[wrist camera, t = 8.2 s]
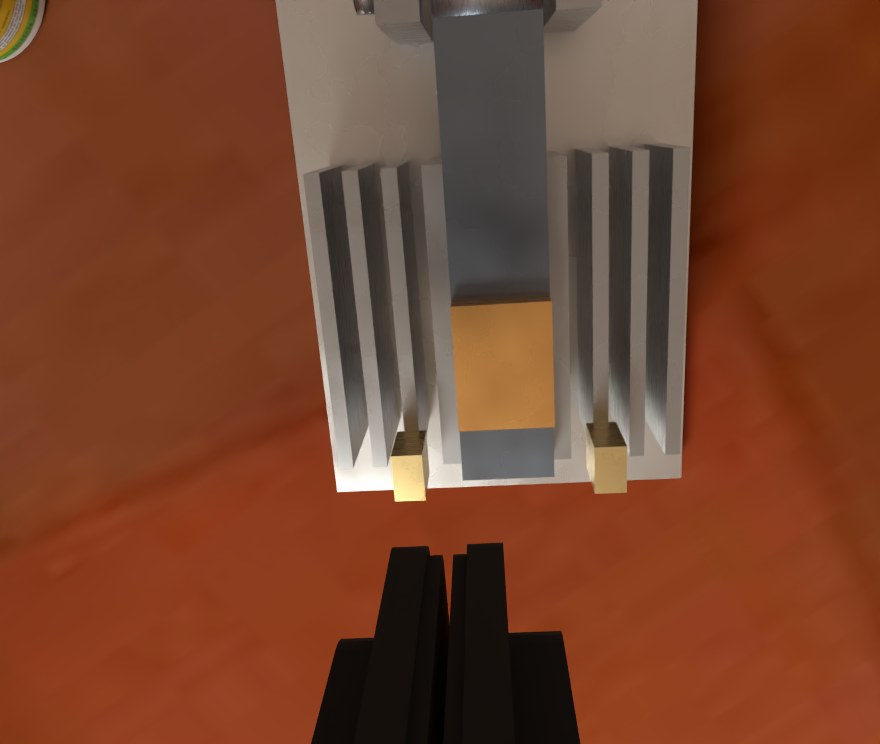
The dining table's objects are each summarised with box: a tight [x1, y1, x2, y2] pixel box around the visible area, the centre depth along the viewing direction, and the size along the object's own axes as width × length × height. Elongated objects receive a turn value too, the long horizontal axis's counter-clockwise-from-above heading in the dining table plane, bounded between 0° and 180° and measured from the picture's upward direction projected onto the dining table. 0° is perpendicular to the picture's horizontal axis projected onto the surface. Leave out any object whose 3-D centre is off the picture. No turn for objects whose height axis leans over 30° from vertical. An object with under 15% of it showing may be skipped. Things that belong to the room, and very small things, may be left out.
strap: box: [430, 0, 555, 481], centre depth 23 cm, size 16×3×2 cm, turn 4°
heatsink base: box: [276, 0, 698, 501], centre depth 25 cm, size 20×14×7 cm
